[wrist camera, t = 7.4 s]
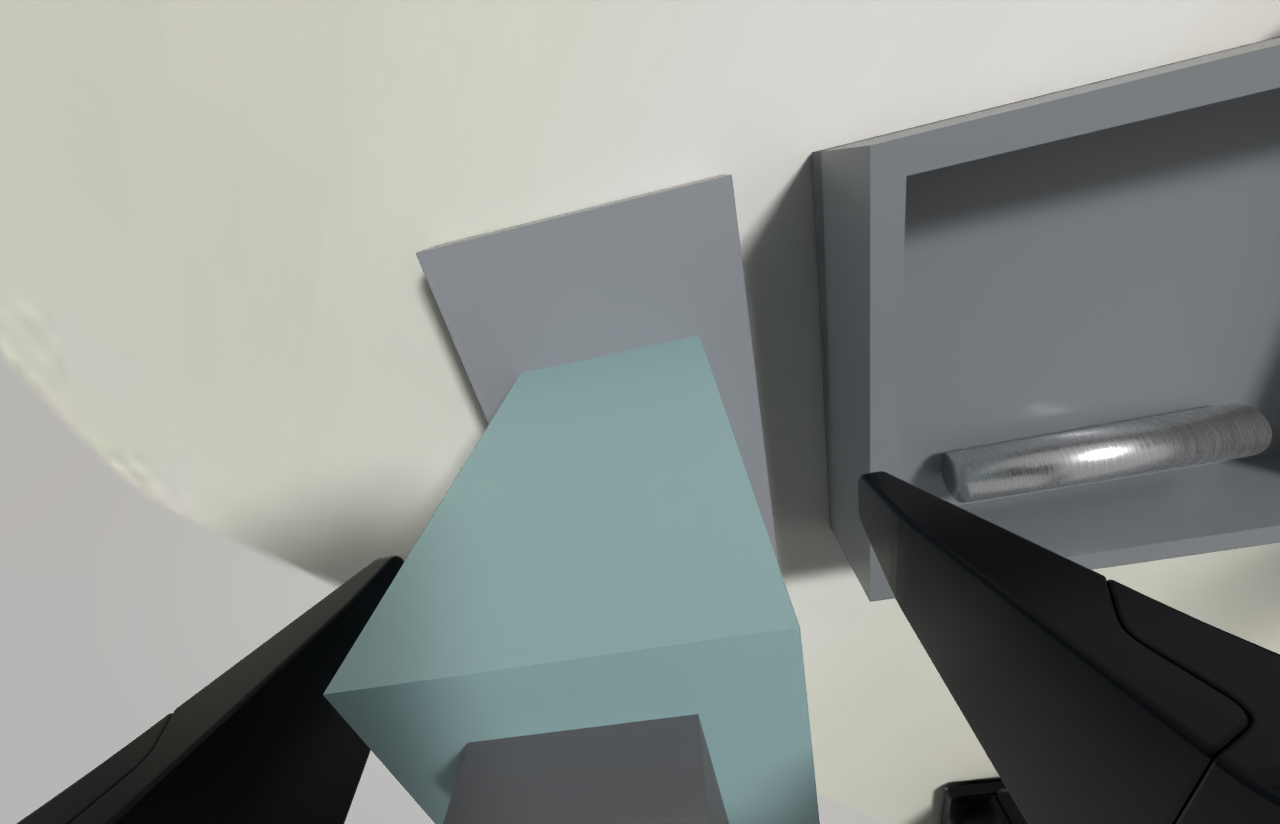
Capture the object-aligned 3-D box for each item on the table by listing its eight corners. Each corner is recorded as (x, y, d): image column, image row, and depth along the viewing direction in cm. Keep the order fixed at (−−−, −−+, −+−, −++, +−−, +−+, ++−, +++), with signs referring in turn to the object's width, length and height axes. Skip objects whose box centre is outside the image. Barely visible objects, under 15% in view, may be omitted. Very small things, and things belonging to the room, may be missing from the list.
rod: (1210, 451, 13) (1275, 460, 11) (945, 495, 14) (975, 509, 12) (1204, 401, 13) (1268, 404, 11) (937, 448, 13) (966, 457, 12)
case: (1274, 454, 14) (1424, 521, 11) (830, 526, 15) (870, 601, 13) (1526, -86, 9) (1926, -204, 6) (809, 100, 10) (870, 73, 7)
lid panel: (769, 536, 15) (778, 563, 14) (567, 569, 16) (562, 597, 15) (722, 174, 11) (731, 174, 10) (437, 245, 11) (415, 252, 10)
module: (725, 486, 13) (848, 953, 5) (571, 513, 14) (473, 979, 6) (699, 336, 11) (834, 728, 3) (520, 373, 12) (262, 793, 4)
